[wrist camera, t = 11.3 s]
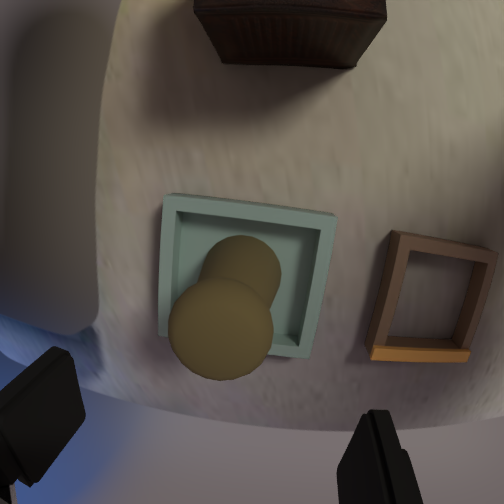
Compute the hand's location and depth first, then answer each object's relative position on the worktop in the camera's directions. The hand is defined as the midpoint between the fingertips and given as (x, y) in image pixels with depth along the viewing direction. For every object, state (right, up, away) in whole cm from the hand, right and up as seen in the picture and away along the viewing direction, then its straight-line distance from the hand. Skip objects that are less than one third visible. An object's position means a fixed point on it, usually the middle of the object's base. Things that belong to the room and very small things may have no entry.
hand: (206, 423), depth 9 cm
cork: (+1, +4, +16) cm, 16 cm away
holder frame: (+17, +1, +16) cm, 23 cm away
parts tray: (+1, +4, +16) cm, 17 cm away
